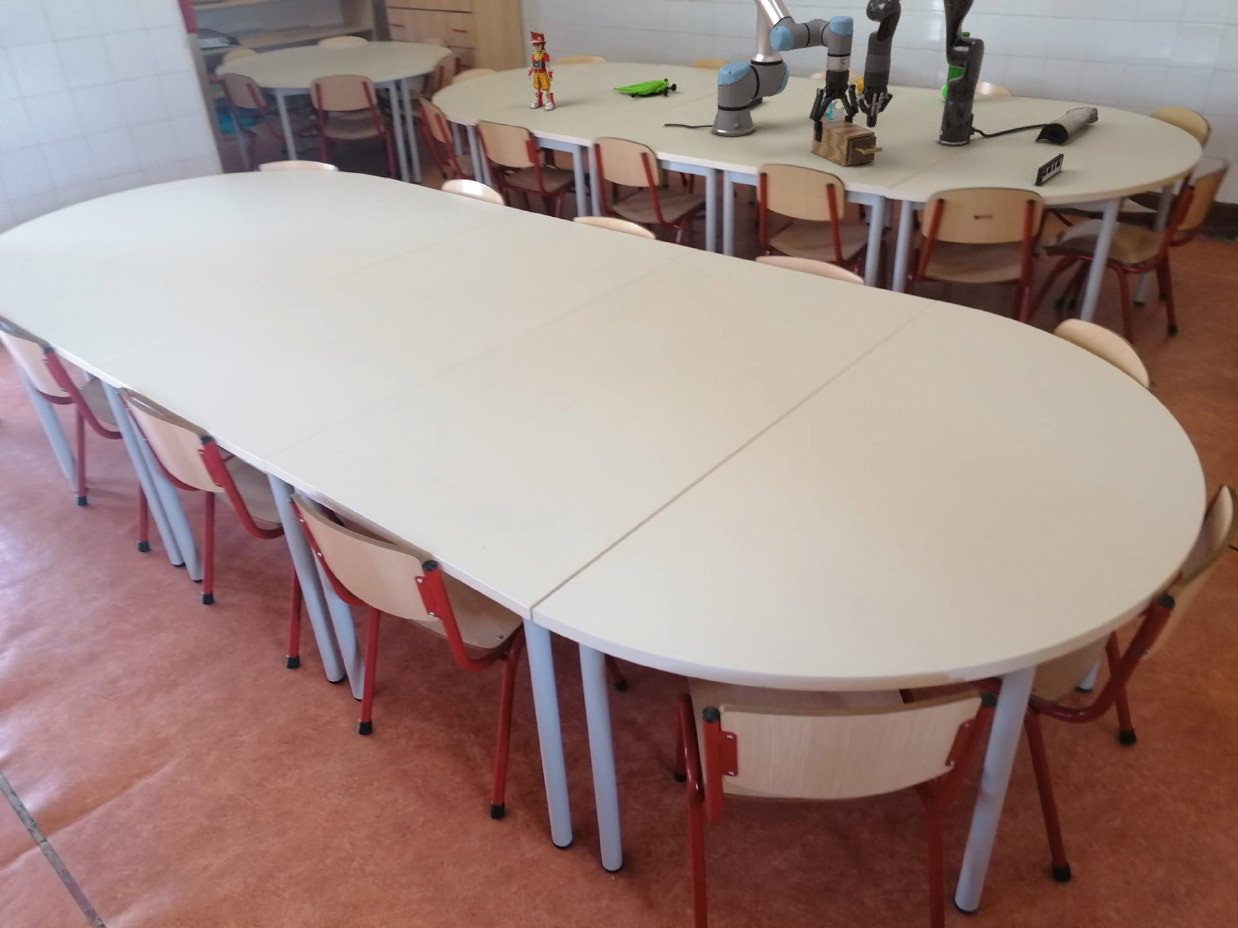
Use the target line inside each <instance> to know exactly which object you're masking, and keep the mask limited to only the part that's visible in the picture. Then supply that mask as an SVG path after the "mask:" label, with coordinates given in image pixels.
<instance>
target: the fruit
mask: <svg viewBox="0 0 1238 928" xmlns="http://www.w3.org/2000/svg"><path fill="white" fill-rule="evenodd" d="M863 81H864V76H862V77H860V79H859V80H858V81H857V83H856V91H857V93H858V94H859V95H860V96H861V95H862V91H863V89H864V84H863Z"/></svg>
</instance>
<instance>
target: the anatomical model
mask: <svg viewBox="0 0 1238 928" xmlns="http://www.w3.org/2000/svg"><path fill="white" fill-rule="evenodd" d="M825 95H826V93H825ZM825 95H824V96H823V100H824V97H825ZM828 99H829V98H828ZM823 100H822V102H823ZM838 102H839V99H836V100H833V101H832V102H831V103H830V104H829V106H828V108H827V110H826V112H825V113H824V115H826V116H827V119H828V121H829V120H835V119H843V120H845V115H844V111H845V108H844V106H841V107H839V108H836V105H837V103H838ZM821 104H822V103H821Z"/></svg>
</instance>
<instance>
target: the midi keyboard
mask: <svg viewBox="0 0 1238 928" xmlns="http://www.w3.org/2000/svg"><path fill="white" fill-rule="evenodd" d="M1064 157H1065V153H1059V154H1058V155H1056V156H1055V157H1052V159H1051V160H1049V161H1047V162H1045V164H1042V165H1041V166H1039V167H1038V169H1037V175H1036V179H1035V186H1040V185H1042V183H1044V182H1045V181H1047V180H1048V179H1049V178H1051V177H1052V176H1054V175H1055V174H1056V173H1058V172H1060V171H1061V170H1062V165H1063V161H1064Z"/></svg>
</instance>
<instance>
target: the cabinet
mask: <svg viewBox="0 0 1238 928" xmlns="http://www.w3.org/2000/svg"><path fill="white" fill-rule="evenodd" d="M822 122H823V124H822V137H821V142H818V141H816V140H815V132H816V131H814V127H813V131H812V141H811V142H812V144H811V153H814V154H816V155H818V156H820V157H823V158H824V159H827V160H829V161H832V162H834V163H835V164H838V165H840V166H842V167H848V166H854V165H861V164H864V163H870V162H872V161H867V162H862V163H856V164H851V165H850V164H848V161H847V160H848V149H849V139H854V138H859V137H865V136H869V137H871V136H875V134H876V132H875V131H874V130H871V129H869V128H866V127H863V126H861V125H858V124H856V123H854V122H853V123H850V122H848V121H845V120H843V119H835V120H829V119H828V120H825V121H824V120H823V121H822Z"/></svg>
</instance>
